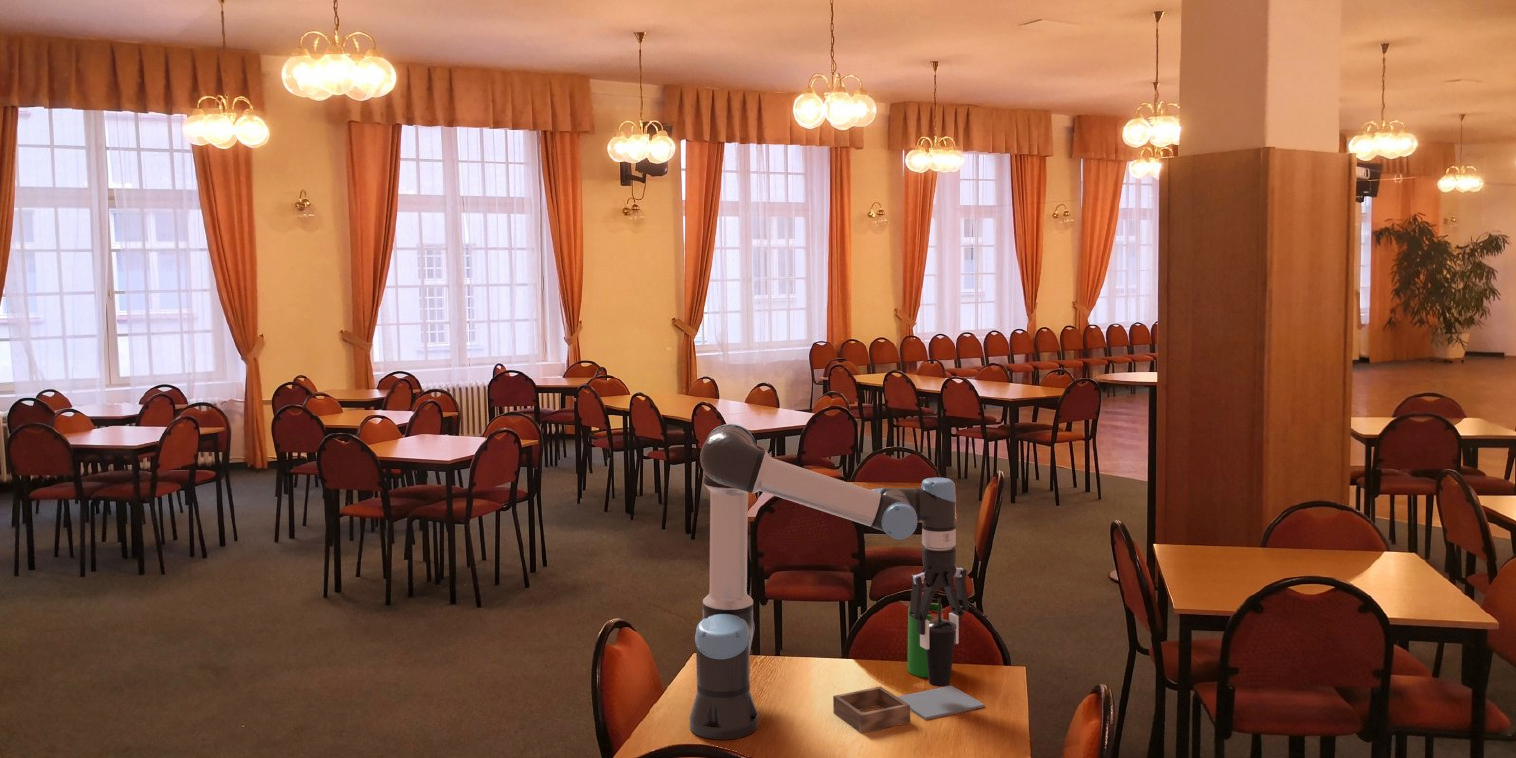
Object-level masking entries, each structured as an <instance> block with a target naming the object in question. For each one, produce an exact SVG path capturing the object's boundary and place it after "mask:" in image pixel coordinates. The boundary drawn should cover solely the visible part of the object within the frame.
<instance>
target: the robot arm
mask: <svg viewBox="0 0 1516 758" xmlns="http://www.w3.org/2000/svg"><path fill="white" fill-rule="evenodd" d="M757 446H758V445H757V442H756V439H755V437H754V435H752V433H751V432H750V431H749V430H748V429H747V428H746V427H744V426H742V425H740V424H737V423H726V424H723V425H720V426H717V427H716V428H714V429H713V430H712V431H710V433H709V434H708V435H707V438H706V439H705V442H704V443H703V445H702V446H701V449H700V454H699V455H700V456H699V460H700V461H699V462H700V465H701V468H702V470H703V486H704V487H705V488H707V490H709V492H710V497H709V498H710V499H709V504H710V507H709V508H710V510H709V517H710V518H709V525H710V526H709V593H708V594H707V595H706V596H705V597H704V598H703V599H702V620H701V621H700V622H698V624H697V626H696V629H695V636H694V643H695V648H696V649H695V652H696V654H695V655H696V656H695V657H696V658H695V659H696V661H695V662H696V663H695V664H696V665H695V666H696V694H695V695H696V696H695V698H694V702H693V704H692V708H691V711H690V715H689V729H690V731H691V732H692V733H693V734H694V735H697V736H699V737H702V738H704V739H708V740H709V739H710V740H719V741H721V740H734V739H738V738H742V737H746V736H749V735H751V734H752V733H754V732H755V731H756V730H757V729H758V728H759V713H758V710H757V708H756V704H755V702H754V699H753V696H752V693H751V683H750V681H751V680H750V679H751V677H750V671H751V670H750V669H751V668H750V655H751V653H750V652H751V647H752V642H753V638H754V635H755V622H754V600H753V598H752V597H751V596H750V595H749V594H748V591H747V590H748V589H747V587H748V584H747V583H748V529H749V528H748V522H749V521H748V520H749V519H748V517H749V515H748V514H749V510H748V509H749V493H750V494H756V493H758V492H762V493H765V494H767V495H768V494H769V495H772V496H775V497H778V498H781V499H783V500H787V501H791V502H793V503H797V504H799V505H801V506H805V507H809V508H812V509H814V510H819V511H821V512H824V513H827V514H830V515H833V516H836V517H840V518H841V519H842V518H843V519H846V520H849V521H852V522H856V523H859V524H862V525H864V526H868V527H871V528H873V529H876V530H880V531H882V532H884V533H885V534H886V535H888V537H890V538H892V539H895V540H904V539H907V538H909V537H910V536H912V535H914V532H915V531H916V529H917V527H918V522H922V526H921V528H922V529H921V531H922V532H921V544H922V545H923V547H922V549H921V551H922V553H921V554H922V555H921V556H922V564H923V565H922V566H923V568H922V570H921V573H918V574H915V573H914V574H911V577H910V578H911V582H912V583H911V584H912V586H911V592H912V594H911V593H910V602H909V603H910V604H909V606H910V612H909V616H910V617H912V618H914V619H916V620H917V632H918V633H919V634H920V646H921V647H923V648H925V649H926V650H927V649H929V621H928V620H926V618H927V615H928V612H929V609H930V606H931V603H932V602H933V599H934V596H935V594H936V593H937V591H938V589H940V588H943V590H944V593H945V595H946V597H947V600H948V603H949V606H950V608H951V609H950V610H951V612H949V613H948V621H950V622H952V623H954V624H956V626H957V628H956V630H955V637H954V645H958V644H959V639H960V637H959V635H960V634H959V629H960V628H962V617H963V616H964V615H965V611H966V612H968V611H969V599H968V598H969V597H968V589H967V588H968V587H967V581H966V579H967V573H968V571H967V569H965V568H962V567H961V566H958V567H956V562H957V548H955V546H956V545H957V543H956V541H957V539H956V538H957V535H956V533H957V531H956V529H957V528H956V527H957V526H956V524H957V523H956V521H957V516H956V515H957V508H956V507H957V497H956V484H955V482H954V481H953V480H952V479H950V478H947V477H946V478H945V477H928V478H927V477H926V478H925V479H923V480H922V481H921V487H916V488H915V487H913V488H912V487H911V488H910V487H909V488H908V487H905V488H903V487H900V488H899V487H898V488H897V487H894V488H893V487H891V488H890V487H882V488H881V487H880V488H873V489H870V488H869V489H868V488H865V487H862V486H859V485H857V484H854V483H850V482H847V481H844V480H841V479H838V478H835V477H831V476H829V475H825V474H823V473H819V472H816V471H813V470H810V469H807V468H803V467H800V466H798V465H795V464H792V463H788V462H787V461H786V462H785V461H782V460H779V459H776V458H773V457H771V456H770V454H769V453H768V451H767V450H763V449H760V448H758V447H757ZM953 579H954V581H953ZM924 580H925V581H924ZM923 584H924V585H923ZM955 589H956V590H955ZM922 591H923V595H922Z"/></svg>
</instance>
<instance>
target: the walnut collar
mask: <svg viewBox="0 0 1516 758" xmlns="http://www.w3.org/2000/svg"><path fill="white" fill-rule="evenodd" d="M832 697H833V699H832V700H833V707H832V708H833V710H832V711H833V714H834V715H836V716H837V717H838V718H840V720H842V721H844V722H845V723H847V724H848V725H849V726H850V727H852V728H854V730H856V731H858V732H859V733H860V734H864V733H870V732H874V731H879V730H883V729H888V728H893V727H897V726H901V725H905V724H906V725H907V724H910V723H911V710H910V705H909V704H907V703H906V702H904V701H903V700H901V699H900V698H898V696H896V695H895V694H893V693H891V692H890V691H889V690H887V689H886V688H884V687H882V686H875V687H871V688H866V689H861V690H856V691H855V690H854V691H852V692H851V691H850V692H846V693H842V694H841V693H840V694H837V695H832ZM873 707H881V708H882V709H876V710H871V711H867V712H862V711H861V710H864V709H869V708H873Z"/></svg>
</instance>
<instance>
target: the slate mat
mask: <svg viewBox="0 0 1516 758" xmlns="http://www.w3.org/2000/svg"><path fill="white" fill-rule="evenodd" d="M897 697H898V698H900V699H901V700H903V701H904V702H906V703H907V704H909V705H910V712H912V713H914V714H916V715H917V716H918V717H920V718H922V719H923V720H925V721H927V720H932V719H936V718H940V717H945V716H950V715H955V714H959V713H963V712H967V711H972V710H977V708H978V709H981V708H982V709H983V708H985V707H986V706H985V705H986V704H985V703H982V702H981V701H980V700H978V699H976V698H975V697H973V696H971V695H969V694H967V693H965V692H963V691H962V690H960V689H959V688H957V687H955V686H954V685H948V686H945V687H937V688H931V689H926V690H922V691H918V692H917V691H916V692H913V693H908V694H903V695H899V696H897Z"/></svg>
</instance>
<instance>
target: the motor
mask: <svg viewBox="0 0 1516 758" xmlns="http://www.w3.org/2000/svg"><path fill="white" fill-rule="evenodd" d="M923 592H924V590H922V595H923ZM911 594H912V591H911V593H910V595H911ZM909 612H910V605H909V606H908V613H907V614H908V617H907V618H908V619H907V621H908V623H907V671H908V673H909V674H911V675H912V676H915V677H920V678H925V677H926V679H929V677H928V667H927V656H926V649H925V648H923V647H921V646H920V634H919V633H918V632H917V620H916V619H914V618H912V617H910V616H909ZM932 619H938V603H932V602H931V606H930V609H929V612H928V615H927V618H926V620H928V621H930V620H932ZM941 619H944V613H943V604H941Z"/></svg>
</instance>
